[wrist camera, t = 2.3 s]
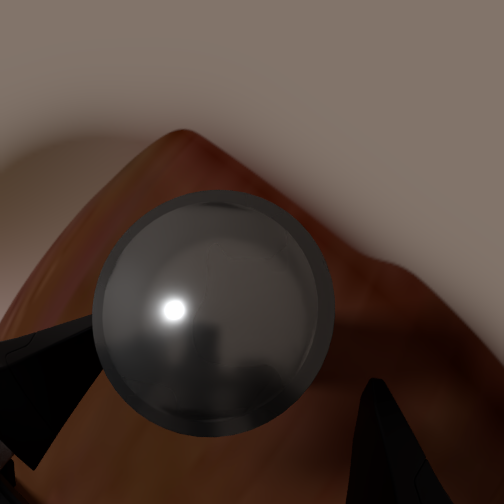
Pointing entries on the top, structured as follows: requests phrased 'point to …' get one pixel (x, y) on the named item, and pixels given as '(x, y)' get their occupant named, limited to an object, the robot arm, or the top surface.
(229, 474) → the top surface
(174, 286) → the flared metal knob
